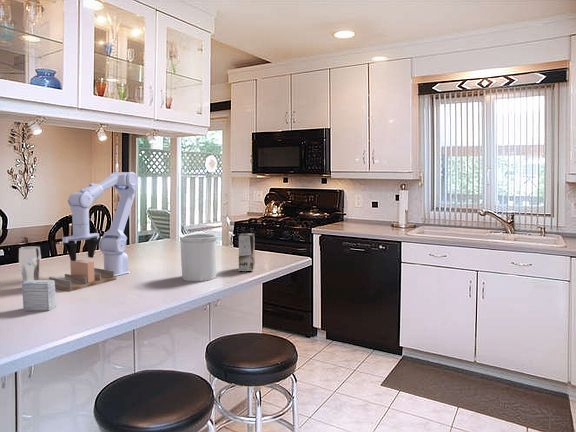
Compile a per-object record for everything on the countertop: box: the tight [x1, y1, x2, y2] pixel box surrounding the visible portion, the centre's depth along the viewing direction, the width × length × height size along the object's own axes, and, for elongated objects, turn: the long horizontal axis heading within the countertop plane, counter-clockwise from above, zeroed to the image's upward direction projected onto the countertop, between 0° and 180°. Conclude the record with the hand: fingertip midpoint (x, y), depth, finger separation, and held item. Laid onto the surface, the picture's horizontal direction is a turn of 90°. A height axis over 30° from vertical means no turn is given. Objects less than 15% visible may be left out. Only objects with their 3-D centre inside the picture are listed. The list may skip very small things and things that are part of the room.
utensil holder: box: [179, 232, 218, 282], centre depth 176 cm, size 15×15×18 cm
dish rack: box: [48, 267, 117, 292], centre depth 166 cm, size 20×13×4 cm, turn 152°
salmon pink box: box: [69, 259, 95, 283], centre depth 166 cm, size 10×3×8 cm, turn 63°
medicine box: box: [21, 279, 57, 312], centre depth 133 cm, size 8×4×9 cm, turn 92°
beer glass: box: [18, 245, 42, 285], centre depth 158 cm, size 7×7×15 cm
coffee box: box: [238, 232, 256, 272], centre depth 191 cm, size 9×6×16 cm
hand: (82, 259), depth 165 cm, fingers open, 7 cm apart
